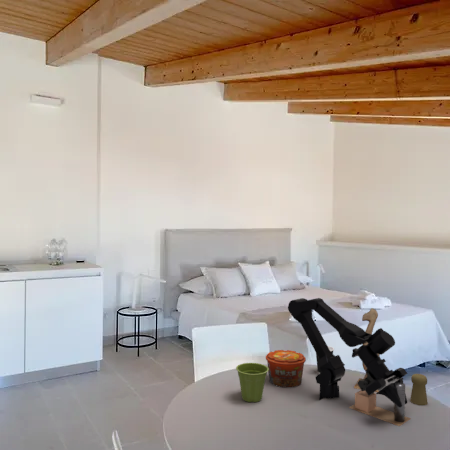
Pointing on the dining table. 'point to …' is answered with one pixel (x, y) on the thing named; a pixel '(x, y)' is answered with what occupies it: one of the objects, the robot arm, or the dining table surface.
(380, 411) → the wooden base with cylinder
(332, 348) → the dixie cup
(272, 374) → the food container
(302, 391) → the dining table surface
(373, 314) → the bird sculpture
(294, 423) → the dining table surface
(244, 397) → the plant pot
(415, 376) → the cork
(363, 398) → the cube
